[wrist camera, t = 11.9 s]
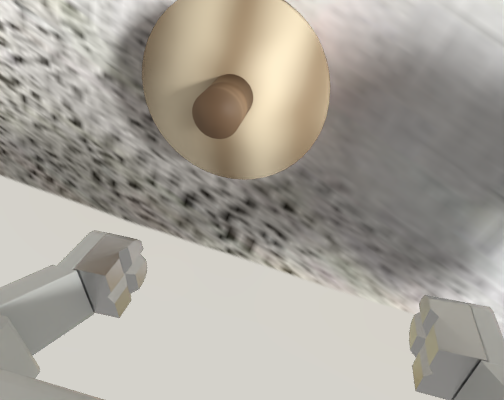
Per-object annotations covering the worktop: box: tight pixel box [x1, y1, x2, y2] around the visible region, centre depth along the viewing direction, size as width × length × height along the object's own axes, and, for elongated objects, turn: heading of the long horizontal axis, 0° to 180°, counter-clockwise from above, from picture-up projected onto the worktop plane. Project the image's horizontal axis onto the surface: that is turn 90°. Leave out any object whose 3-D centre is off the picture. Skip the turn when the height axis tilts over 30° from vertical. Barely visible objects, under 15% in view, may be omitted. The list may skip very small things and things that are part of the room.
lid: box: [142, 0, 330, 179], centre depth 24 cm, size 14×14×5 cm
